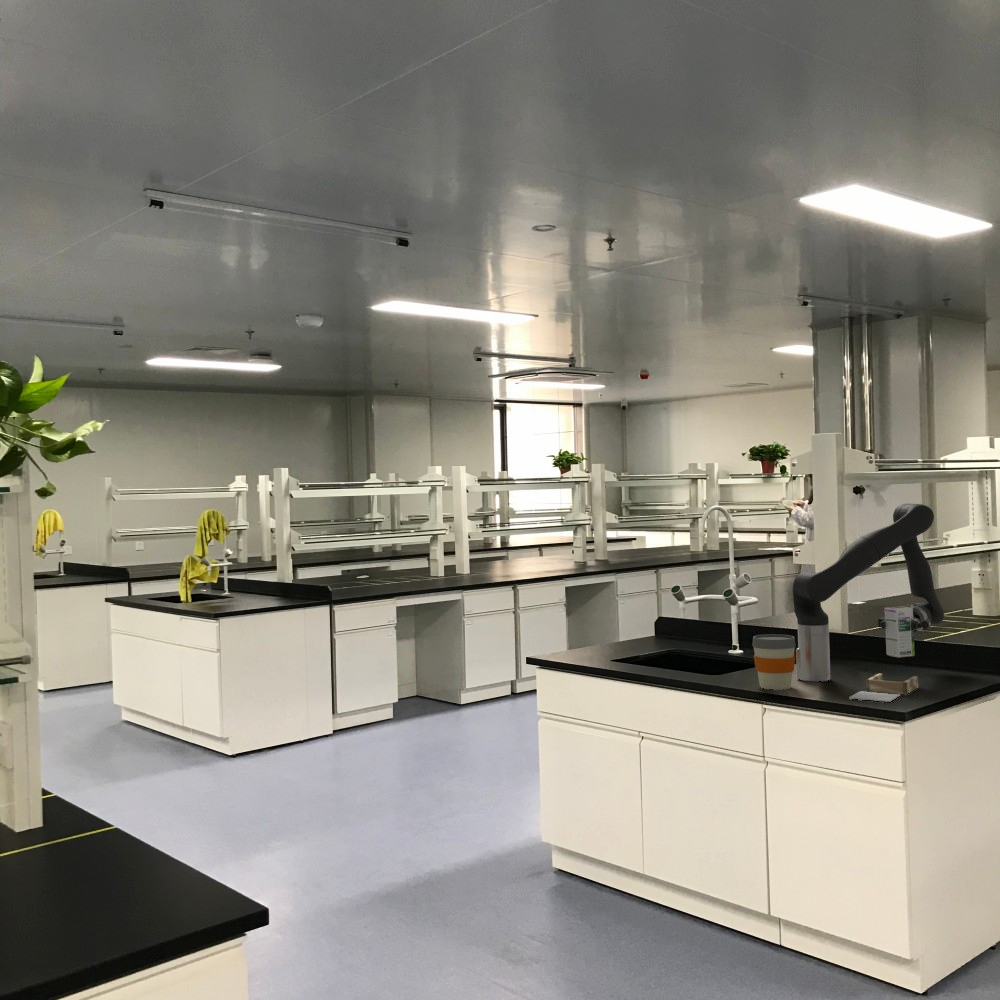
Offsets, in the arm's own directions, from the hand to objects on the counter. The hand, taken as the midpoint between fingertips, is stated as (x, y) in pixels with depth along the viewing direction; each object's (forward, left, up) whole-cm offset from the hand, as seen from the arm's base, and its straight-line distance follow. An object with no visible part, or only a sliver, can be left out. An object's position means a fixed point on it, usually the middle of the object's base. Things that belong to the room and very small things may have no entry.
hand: (897, 626), depth 294 cm
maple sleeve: (0, -8, -18) cm, 19 cm away
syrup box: (0, +2, -9) cm, 9 cm away
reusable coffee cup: (-31, -18, -18) cm, 40 cm away
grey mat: (-1, -21, -18) cm, 28 cm away
